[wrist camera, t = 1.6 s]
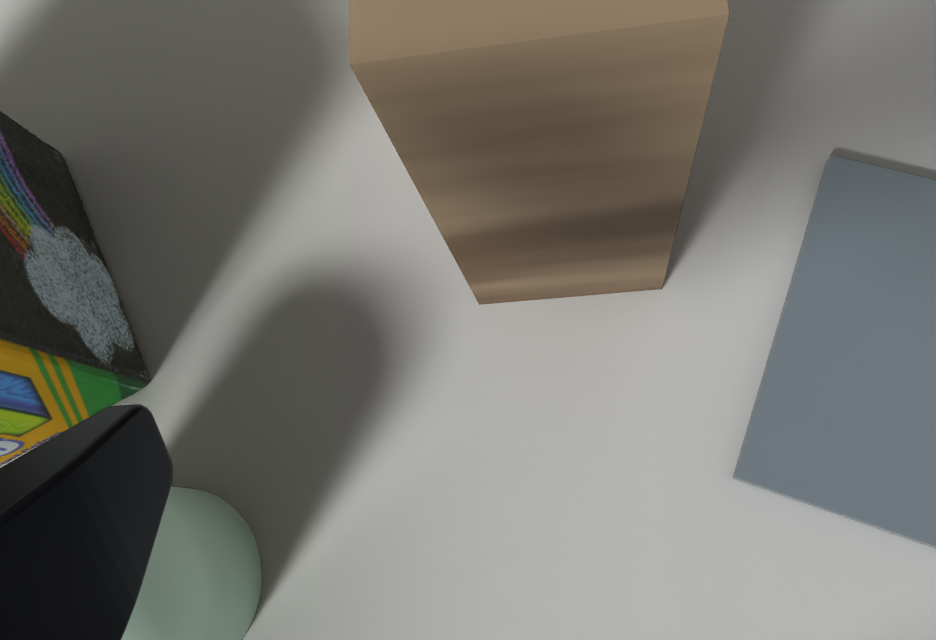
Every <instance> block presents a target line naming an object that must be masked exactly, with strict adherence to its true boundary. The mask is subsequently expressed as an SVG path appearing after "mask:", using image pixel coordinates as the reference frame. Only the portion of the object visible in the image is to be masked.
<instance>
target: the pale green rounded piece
mask: <svg viewBox="0 0 936 640" xmlns="http://www.w3.org/2000/svg"><path fill="white" fill-rule="evenodd" d="M261 583H262V568H261V560H260V554H259V550H258V547H257V543H256V540H255V538H254V536H253V534H252V531H251V529H250V528H249V526H248V525H247V523H246V521H245V520H244V519H243V517H242V516H241V515H240V514H239V513H238V511H237V510H235V509H234V508H233V507H232V506H231V505H230V504H229V503H227V502H226V501H224V500H223V499H221V498H220V497H218V496H215V495H213V494H211V493H208V492H205V491H202V490H197V489H190V488H181V487H172V486H171V489H170V492H169V496H168V499H167V503H166V506H165V509H164V513H163V516H162V519H161V523H160V526H159V529H158V533H157V536H156V539H155V543H154V546H153V550H152V553H151V556H150V560H149V563H148V566H147V570H146V573H145V576H144V580H143V583H142V586H141V589H140V592H139V595H138V598H137V601H136V604H135V607H134V609H133V612H132V614H131V617H130V620H129V622H128V625H127V627H126V630H125V632H124V634H123V637H122V639H121V640H242V639H243V637H244V636H245V634H246V632H247V631H248V629H249V627H250V625H251V623H252V620H253V618H254V616H255V613H256V610H257V607H258V603H259V598H260V593H261Z"/></svg>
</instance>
